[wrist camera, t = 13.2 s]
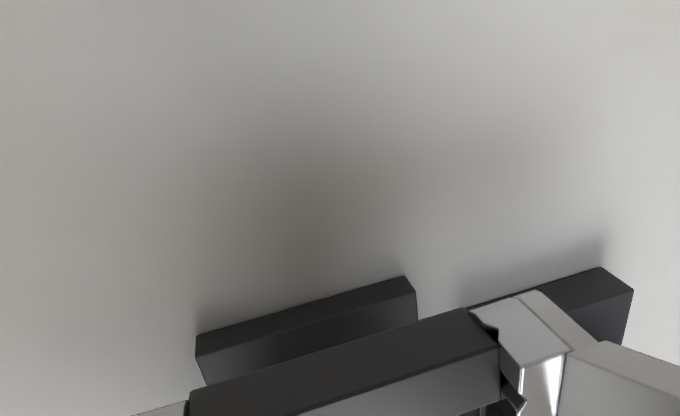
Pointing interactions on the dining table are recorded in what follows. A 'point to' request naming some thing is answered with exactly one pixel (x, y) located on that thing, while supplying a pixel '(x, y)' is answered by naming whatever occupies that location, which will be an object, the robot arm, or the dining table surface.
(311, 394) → the toaster lever
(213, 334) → the lever bracket
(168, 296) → the dining table surface
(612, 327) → the control block
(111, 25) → the dining table surface
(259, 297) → the dining table surface
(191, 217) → the dining table surface
